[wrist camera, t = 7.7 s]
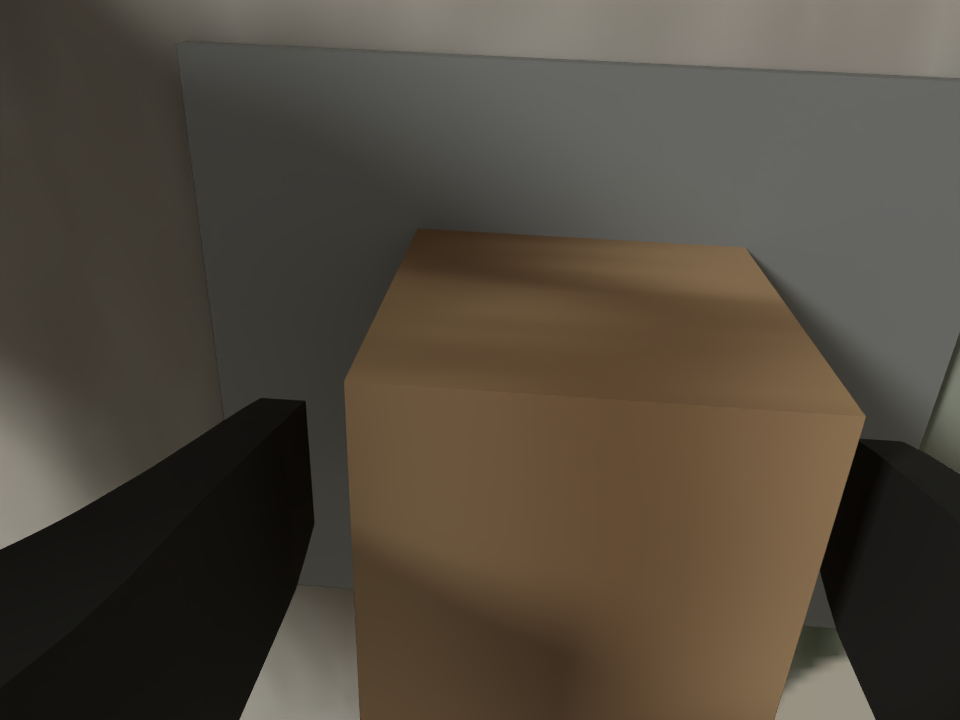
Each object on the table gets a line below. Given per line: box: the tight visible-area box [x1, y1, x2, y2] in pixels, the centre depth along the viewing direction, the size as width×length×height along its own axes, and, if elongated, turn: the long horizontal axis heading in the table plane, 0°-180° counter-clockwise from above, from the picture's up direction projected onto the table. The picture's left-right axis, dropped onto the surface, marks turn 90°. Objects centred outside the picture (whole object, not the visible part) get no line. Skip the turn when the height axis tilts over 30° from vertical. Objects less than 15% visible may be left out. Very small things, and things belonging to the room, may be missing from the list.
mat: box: [176, 41, 960, 629], centre depth 13 cm, size 12×10×1 cm
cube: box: [344, 228, 866, 720], centre depth 11 cm, size 5×5×5 cm
